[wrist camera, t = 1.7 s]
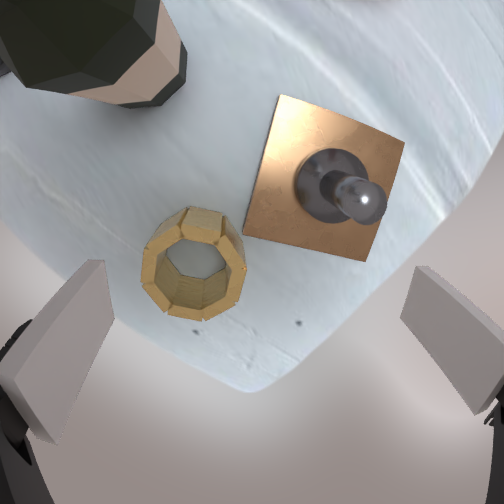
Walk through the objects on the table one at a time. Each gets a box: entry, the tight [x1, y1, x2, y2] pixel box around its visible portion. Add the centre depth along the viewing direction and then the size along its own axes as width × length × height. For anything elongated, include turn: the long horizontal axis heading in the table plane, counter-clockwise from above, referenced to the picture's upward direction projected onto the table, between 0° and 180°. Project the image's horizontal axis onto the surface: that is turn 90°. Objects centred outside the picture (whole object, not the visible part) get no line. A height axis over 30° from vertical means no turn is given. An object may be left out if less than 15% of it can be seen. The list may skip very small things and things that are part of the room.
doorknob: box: [242, 95, 405, 262], centre depth 24 cm, size 14×14×10 cm
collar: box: [141, 206, 247, 322], centre depth 27 cm, size 9×9×6 cm
